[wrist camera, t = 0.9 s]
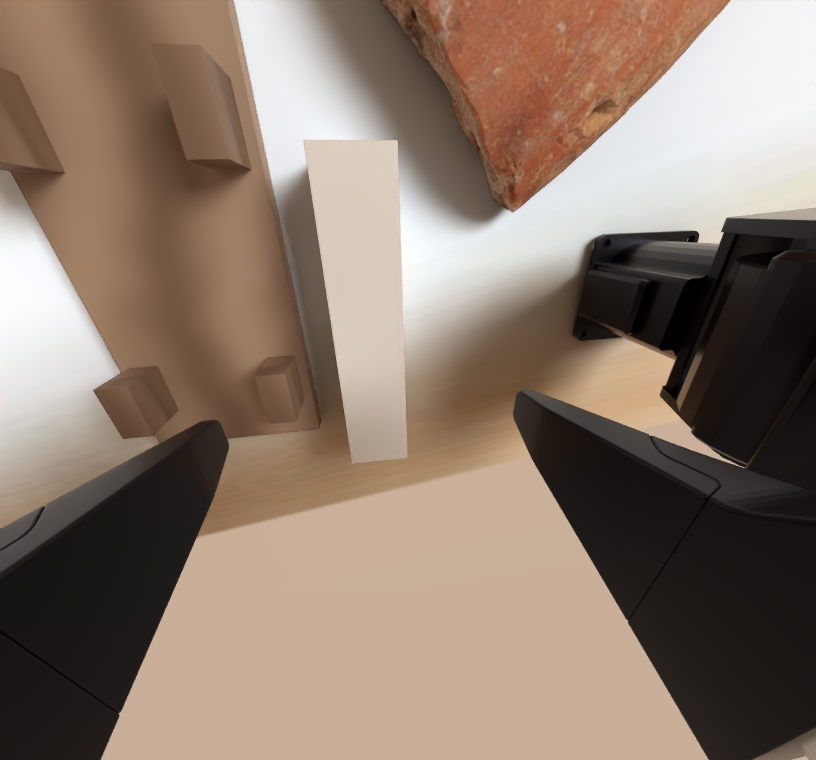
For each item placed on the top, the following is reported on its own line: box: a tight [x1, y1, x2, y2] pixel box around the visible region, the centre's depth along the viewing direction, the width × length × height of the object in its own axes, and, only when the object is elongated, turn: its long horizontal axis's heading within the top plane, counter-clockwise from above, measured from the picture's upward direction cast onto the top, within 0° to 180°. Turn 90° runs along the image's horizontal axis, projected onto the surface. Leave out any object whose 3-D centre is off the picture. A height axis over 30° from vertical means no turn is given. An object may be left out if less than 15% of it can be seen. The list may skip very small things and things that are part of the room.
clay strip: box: [303, 140, 408, 464], centre depth 17 cm, size 4×16×4 cm, turn 1°
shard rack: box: [0, 0, 321, 443], centre depth 14 cm, size 10×20×4 cm, turn 2°
